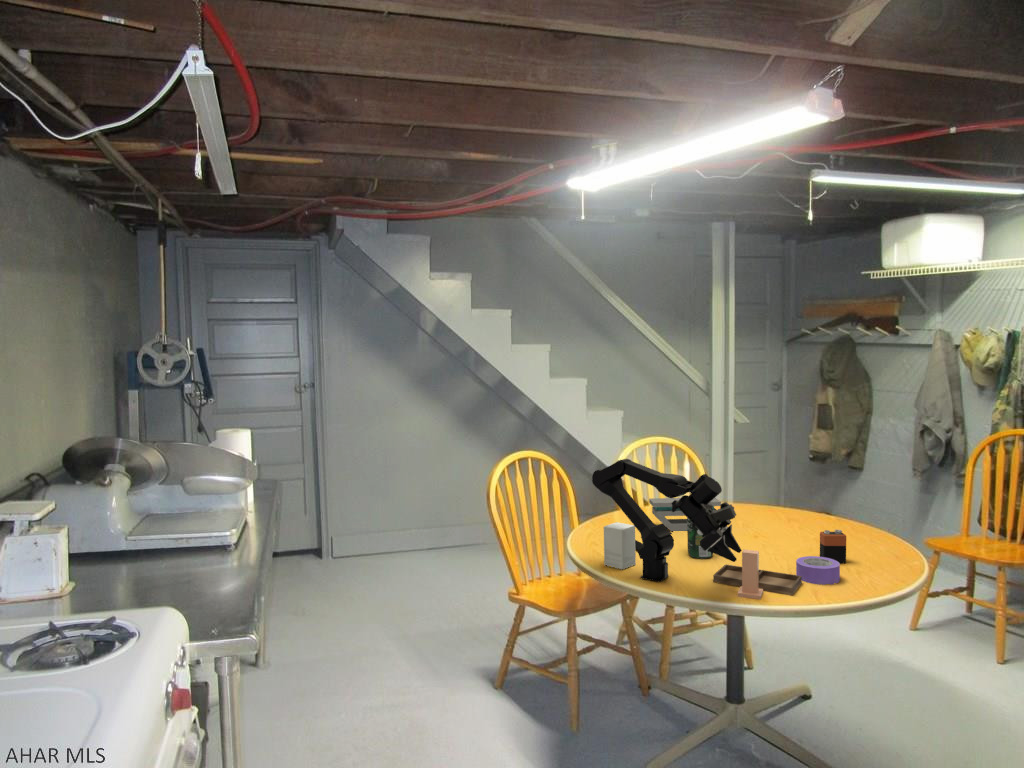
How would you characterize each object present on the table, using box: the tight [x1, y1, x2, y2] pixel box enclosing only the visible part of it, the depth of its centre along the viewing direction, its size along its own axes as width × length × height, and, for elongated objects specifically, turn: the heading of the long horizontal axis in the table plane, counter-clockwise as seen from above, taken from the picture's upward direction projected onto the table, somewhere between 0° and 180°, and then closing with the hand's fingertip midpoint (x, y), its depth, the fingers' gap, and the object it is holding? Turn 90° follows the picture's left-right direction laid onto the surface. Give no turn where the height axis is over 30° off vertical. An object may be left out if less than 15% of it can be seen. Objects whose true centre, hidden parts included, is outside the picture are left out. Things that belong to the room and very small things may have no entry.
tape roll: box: [795, 555, 841, 586], centre depth 210 cm, size 12×12×5 cm
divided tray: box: [712, 564, 803, 596], centre depth 206 cm, size 22×12×2 cm, turn 57°
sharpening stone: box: [648, 497, 722, 532], centre depth 268 cm, size 25×8×11 cm, turn 90°
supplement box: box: [603, 521, 637, 570], centre depth 225 cm, size 7×7×13 cm
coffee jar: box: [686, 503, 714, 560], centre depth 234 cm, size 10×8×19 cm
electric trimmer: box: [635, 539, 644, 552], centre depth 238 cm, size 4×16×3 cm, turn 17°
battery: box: [819, 529, 847, 564], centre depth 225 cm, size 4×7×10 cm, turn 85°
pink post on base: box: [737, 549, 764, 600], centre depth 197 cm, size 6×6×12 cm
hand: (738, 556), depth 198 cm, fingers open, 9 cm apart
